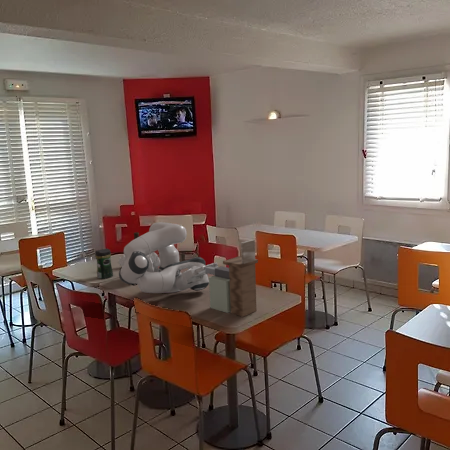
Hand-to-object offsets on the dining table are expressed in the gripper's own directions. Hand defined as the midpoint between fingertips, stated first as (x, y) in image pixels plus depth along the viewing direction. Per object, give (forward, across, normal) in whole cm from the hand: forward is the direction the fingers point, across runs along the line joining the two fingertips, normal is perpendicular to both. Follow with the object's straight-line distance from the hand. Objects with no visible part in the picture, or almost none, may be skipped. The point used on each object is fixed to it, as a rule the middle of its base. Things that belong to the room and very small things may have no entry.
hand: (210, 265), depth 239 cm
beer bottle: (-93, -22, +30) cm, 100 cm away
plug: (+3, 0, -6) cm, 7 cm away
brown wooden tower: (+8, 0, -28) cm, 29 cm away
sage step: (-1, 0, -23) cm, 23 cm away
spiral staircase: (-69, -5, +16) cm, 71 cm away
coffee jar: (-89, +8, +28) cm, 93 cm away
